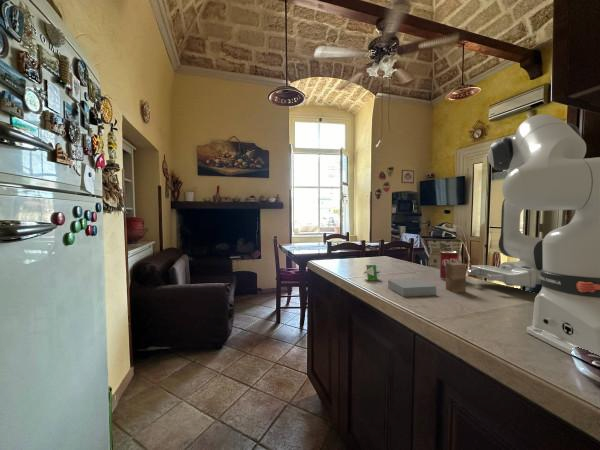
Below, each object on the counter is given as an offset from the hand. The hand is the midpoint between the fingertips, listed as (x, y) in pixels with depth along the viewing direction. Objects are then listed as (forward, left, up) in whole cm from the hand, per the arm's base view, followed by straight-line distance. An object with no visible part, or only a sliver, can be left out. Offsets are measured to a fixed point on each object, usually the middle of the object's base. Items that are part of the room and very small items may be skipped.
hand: (478, 274), depth 94 cm
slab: (-6, +24, -5) cm, 26 cm away
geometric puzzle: (+11, +37, -6) cm, 40 cm away
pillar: (-3, +8, -5) cm, 10 cm away
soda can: (+16, +4, -6) cm, 18 cm away
